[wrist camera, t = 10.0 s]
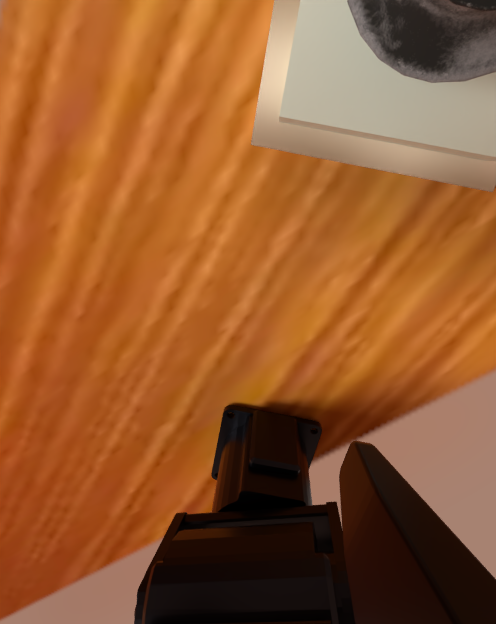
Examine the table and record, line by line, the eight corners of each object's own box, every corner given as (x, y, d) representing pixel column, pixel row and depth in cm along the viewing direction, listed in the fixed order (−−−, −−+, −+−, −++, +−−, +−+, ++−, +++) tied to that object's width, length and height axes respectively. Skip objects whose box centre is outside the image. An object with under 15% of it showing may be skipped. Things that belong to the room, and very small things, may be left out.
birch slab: (465, 186, 18) (492, 192, 16) (253, 145, 18) (250, 144, 16) (588, -112, 14) (651, -164, 11) (306, -172, 14) (313, -236, 11)
